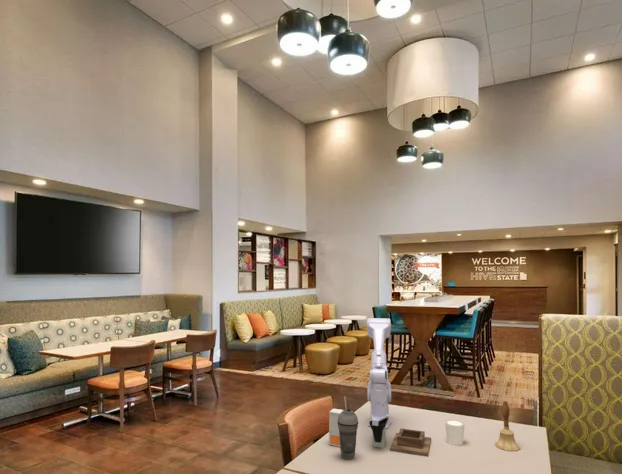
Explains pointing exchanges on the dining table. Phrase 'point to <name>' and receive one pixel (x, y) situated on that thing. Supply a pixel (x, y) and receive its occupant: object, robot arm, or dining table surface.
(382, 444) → the block
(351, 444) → the beverage cup
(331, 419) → the skincare box
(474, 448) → the dining table surface
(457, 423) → the white ribbed cylinder
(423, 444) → the well stand
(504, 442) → the hand bell
